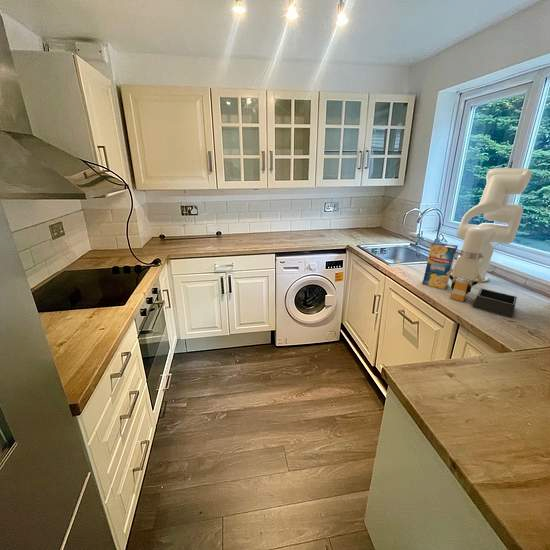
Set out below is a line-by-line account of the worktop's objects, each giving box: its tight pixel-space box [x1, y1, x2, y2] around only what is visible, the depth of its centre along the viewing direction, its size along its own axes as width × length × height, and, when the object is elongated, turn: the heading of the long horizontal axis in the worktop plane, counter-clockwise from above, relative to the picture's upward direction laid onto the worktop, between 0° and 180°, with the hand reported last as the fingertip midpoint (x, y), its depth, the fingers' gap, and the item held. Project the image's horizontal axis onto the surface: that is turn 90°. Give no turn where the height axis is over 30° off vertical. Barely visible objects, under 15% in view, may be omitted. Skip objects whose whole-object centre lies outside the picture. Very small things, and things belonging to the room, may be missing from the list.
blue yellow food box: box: [422, 241, 459, 290], centre depth 150 cm, size 7×11×22 cm, turn 51°
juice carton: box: [450, 278, 469, 302], centre depth 137 cm, size 6×5×9 cm
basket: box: [473, 287, 518, 318], centre depth 129 cm, size 14×12×6 cm
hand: (460, 291), depth 137 cm, fingers closed on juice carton, 5 cm apart
